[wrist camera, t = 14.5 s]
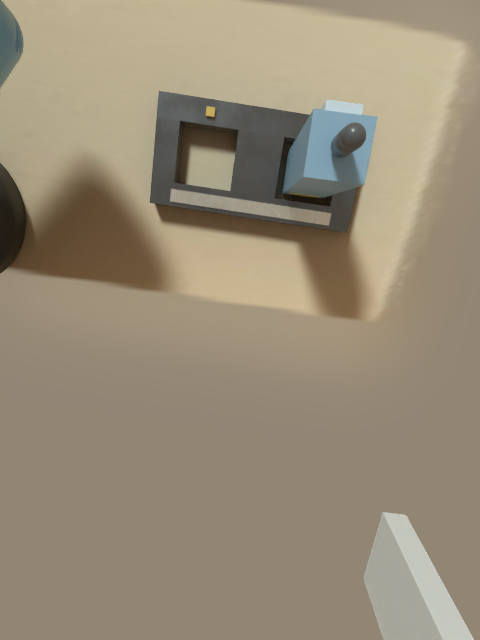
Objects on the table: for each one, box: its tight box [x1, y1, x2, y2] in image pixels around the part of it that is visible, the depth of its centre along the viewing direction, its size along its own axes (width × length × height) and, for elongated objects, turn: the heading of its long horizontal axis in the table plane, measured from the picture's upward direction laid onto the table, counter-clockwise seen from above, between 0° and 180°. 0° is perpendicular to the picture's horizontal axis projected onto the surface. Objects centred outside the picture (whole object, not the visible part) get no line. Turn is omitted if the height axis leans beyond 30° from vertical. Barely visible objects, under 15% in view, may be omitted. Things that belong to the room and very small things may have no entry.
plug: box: [282, 100, 377, 199], centre depth 29 cm, size 4×5×19 cm
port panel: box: [150, 91, 357, 233], centre depth 37 cm, size 20×10×2 cm, turn 82°
